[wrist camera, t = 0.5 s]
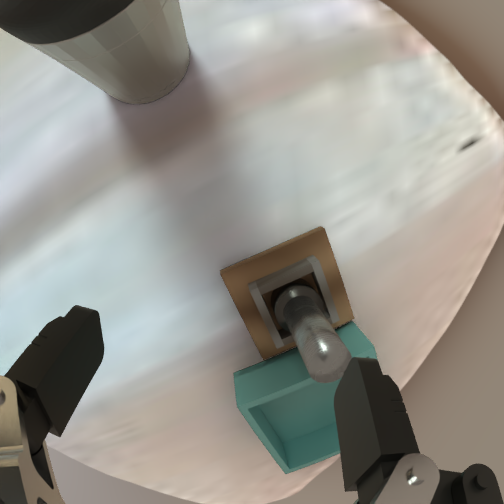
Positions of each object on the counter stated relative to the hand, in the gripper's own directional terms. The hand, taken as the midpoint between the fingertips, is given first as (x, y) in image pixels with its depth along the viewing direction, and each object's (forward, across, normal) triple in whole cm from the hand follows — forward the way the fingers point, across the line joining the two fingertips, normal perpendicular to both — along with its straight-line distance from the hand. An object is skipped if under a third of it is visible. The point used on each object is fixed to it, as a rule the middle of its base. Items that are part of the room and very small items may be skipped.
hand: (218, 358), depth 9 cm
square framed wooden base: (+22, -5, +10) cm, 25 cm away
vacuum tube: (+20, -6, +10) cm, 24 cm away
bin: (+20, -11, +23) cm, 33 cm away
